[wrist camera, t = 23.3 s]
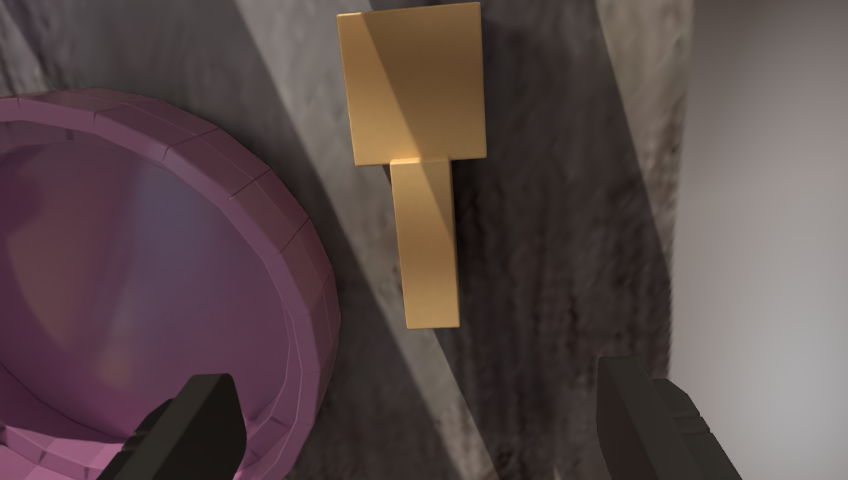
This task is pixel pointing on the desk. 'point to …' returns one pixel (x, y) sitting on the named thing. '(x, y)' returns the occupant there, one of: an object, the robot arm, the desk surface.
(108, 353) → the bowl
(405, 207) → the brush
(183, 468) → the robot arm
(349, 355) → the desk surface
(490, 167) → the desk surface
